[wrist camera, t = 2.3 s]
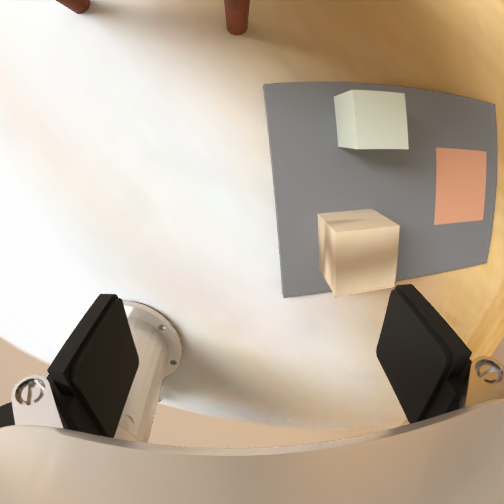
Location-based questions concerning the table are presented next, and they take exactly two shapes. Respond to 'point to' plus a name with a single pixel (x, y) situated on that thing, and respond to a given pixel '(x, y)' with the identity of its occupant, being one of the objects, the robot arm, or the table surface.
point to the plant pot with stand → (234, 9)
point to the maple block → (357, 251)
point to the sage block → (371, 120)
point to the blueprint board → (383, 179)
